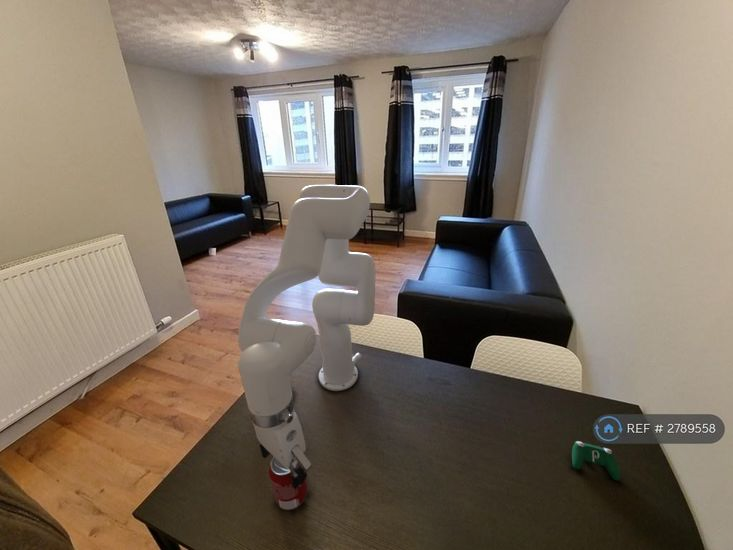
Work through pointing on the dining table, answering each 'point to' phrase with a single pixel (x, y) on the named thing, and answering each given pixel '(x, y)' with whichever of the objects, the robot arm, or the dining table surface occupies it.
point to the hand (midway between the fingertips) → (284, 466)
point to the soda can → (286, 486)
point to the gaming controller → (595, 458)
